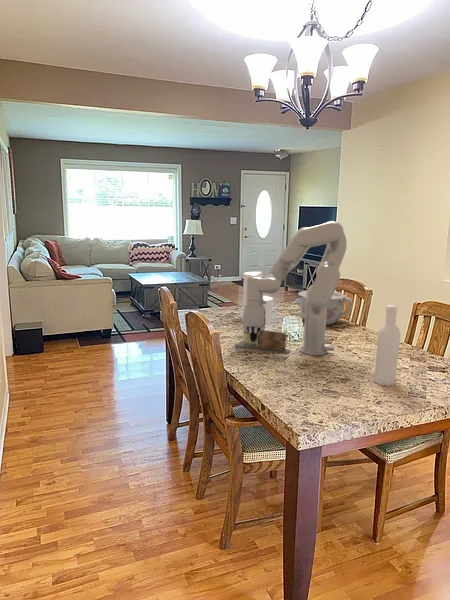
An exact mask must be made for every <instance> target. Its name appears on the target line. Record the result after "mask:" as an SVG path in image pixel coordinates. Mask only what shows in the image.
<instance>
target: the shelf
mask: <svg viewBox="0 0 450 600" xmlns="http://www.w3.org/2000/svg"><path fill="white" fill-rule="evenodd" d="M286 340H287V333H286V332H280V331H271V330H264V331H263V330H260V341H259V348H264V349H272V350H280V351H285V349H287V347H286Z"/></svg>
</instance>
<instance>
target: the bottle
mask: <svg viewBox="0 0 450 600" xmlns="http://www.w3.org/2000/svg"><path fill="white" fill-rule="evenodd" d="M385 310H386V311H385V322H384V324H383V325H381V326H380V327H379V330H378V335H377V344H376V345H377V347H376V353H375V354H376V355H375V356H376V357H375V365H374V374H373V375H374V376H373V378H374V379H373V382H374V383H375V382H376V383H375V384H377V385H380V386H384V385H386V386H385V387H391V386H390V385H392V386H394V385H396V381H397V369H398V360H399V359H398V358H399V351H400V350H399V349H400V340H401V332H400V329H399V327H398V326H397V324H396V322H397V321H396V320H397V314H398V313H397V312H398V306H396V305H395V304H393V305H392V304H388V305H386V308H385Z"/></svg>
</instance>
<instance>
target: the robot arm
mask: <svg viewBox="0 0 450 600" xmlns="http://www.w3.org/2000/svg"><path fill="white" fill-rule="evenodd" d="M347 243H348V242H347V238H346V234H345V232H344V228H343V225H342V223H340V222H339V221H338V222H337V221H334V220H329V221H326V222H324V223H322V224H318V225H314V226H310V227H308V226H306V227H305V226H303V227H300V228H299V229H298V230H297V231H296V233H295V234H294V236H292V238H291V240H290V241H289V243H288V244H287V245H286V247H285V248H284V250H283V251H282V252H281V254H280V256H279V258H278V259H277V261H276V262H275V264H274V265H273V266H272V267H271V269H270V270H269V272H268V273H267V275H266V277H263V276H262V277H261V276H249V277H248V279H247V304H246V305H245V308H244V314H243V313H242V316H243V321H242V328H243V329H244V328H245V329H247V330H248V331H249V333H250V339H251V342H252V341H253V342H255V341H256V340H257V332H259V331H260V330H264V331H266V325H267V324H266V314H265V306H264V305H263V304H266V301H264V300H263V296H264V293H265V294H269V295H271V294H272V295H273V294H276V293H278V292H279V291H280V288H281V284H282V282H283V281H284V280H285V278H286V277H287V276H288V275H289V273H290V272H291V271H292V270H293V269H294V268H296V267H297V266H298V264H299V263H300V262H301V260H302V259H303V257H304V256H305V255H306V253H307V252H308V251H309V249H310V248H314V247H318V246H322V245H326V247H325V249H324V250H325V251H324V252H323V256H322V258H321V260H320V262H319V264H318V266H317V267H316V272H315V274H316V276H315V279H314V281H313V283H312V284H311V285H310V286H309V287H308V288H307V289H306V290H307V292H306V311H305V319H304V331H303V345H302V346H299V351H300V352H301V353H302V354H306V355H309V356H323V355H326V354H328V351H335V346H333V345H332V344H327V341H325V340H326V338H325V337H326V328H327V325H326V316H327V305H328V304H329V302H330V300H331V298H332V296H333V293H334V291H335V290H336V289H337V287H338V284H339V281H340V278H341V272H340V270H339V269H340V267H341V265H342V262H343V260H344V257H345V254H346V251H347ZM335 292H336V291H335ZM265 324H266V325H265ZM253 327H255V331H253Z"/></svg>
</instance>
